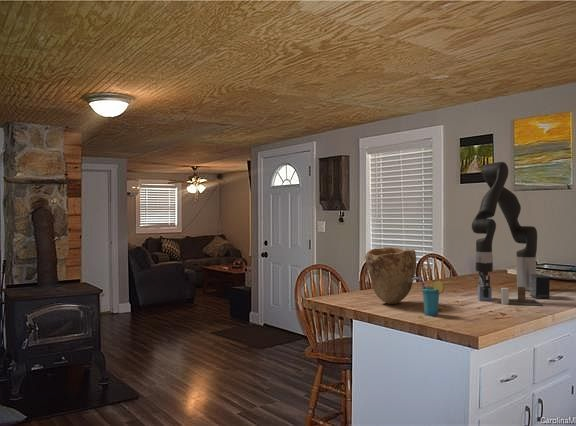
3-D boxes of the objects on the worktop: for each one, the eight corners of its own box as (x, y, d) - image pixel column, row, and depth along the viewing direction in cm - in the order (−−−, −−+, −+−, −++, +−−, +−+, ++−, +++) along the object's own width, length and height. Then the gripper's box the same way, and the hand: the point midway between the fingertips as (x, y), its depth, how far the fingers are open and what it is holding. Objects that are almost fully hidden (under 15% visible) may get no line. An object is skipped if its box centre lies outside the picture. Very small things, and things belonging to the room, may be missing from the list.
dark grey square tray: (501, 299, 237) (501, 284, 237) (533, 300, 234) (533, 285, 234) (508, 305, 223) (508, 289, 223) (543, 306, 221) (542, 290, 221)
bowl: (357, 301, 236) (356, 248, 236) (396, 297, 245) (396, 246, 245) (384, 310, 216) (383, 251, 216) (427, 305, 225) (426, 249, 224)
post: (501, 303, 228) (501, 287, 228) (507, 303, 228) (507, 287, 228) (502, 304, 226) (502, 288, 226) (508, 304, 225) (508, 288, 225)
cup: (408, 314, 207) (408, 277, 207) (416, 311, 213) (416, 275, 213) (442, 318, 199) (441, 280, 199) (449, 314, 205) (448, 277, 205)
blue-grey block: (477, 298, 240) (477, 285, 240) (489, 299, 239) (489, 285, 239) (479, 300, 235) (479, 286, 235) (491, 301, 234) (491, 286, 234)
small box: (550, 299, 236) (550, 277, 236) (535, 299, 238) (535, 276, 238) (543, 295, 247) (543, 274, 247) (529, 295, 248) (529, 274, 248)
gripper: (473, 259, 244) (473, 293, 244) (478, 262, 230) (478, 298, 230) (489, 260, 243) (489, 293, 243) (495, 262, 229) (496, 298, 229)
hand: (484, 295), depth 237 cm, fingers open, 8 cm apart
